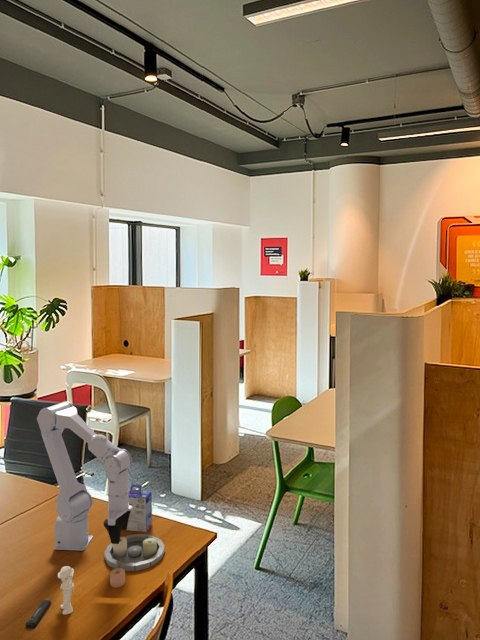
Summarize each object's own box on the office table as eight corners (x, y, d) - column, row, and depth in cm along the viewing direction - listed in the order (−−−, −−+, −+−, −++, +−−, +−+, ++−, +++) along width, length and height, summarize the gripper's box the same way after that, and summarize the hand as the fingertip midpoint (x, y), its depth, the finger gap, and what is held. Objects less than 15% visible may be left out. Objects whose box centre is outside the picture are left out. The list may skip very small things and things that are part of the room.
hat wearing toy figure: (78, 617, 130) (76, 571, 129) (61, 622, 128) (59, 576, 127) (72, 596, 138) (70, 553, 137) (56, 600, 136) (54, 557, 135)
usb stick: (42, 603, 136) (42, 598, 136) (52, 604, 136) (51, 598, 136) (24, 629, 127) (24, 623, 126) (35, 630, 126) (34, 624, 126)
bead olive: (141, 558, 154) (141, 545, 154) (144, 550, 158) (144, 537, 158) (155, 558, 154) (154, 545, 153) (158, 551, 158) (157, 538, 157)
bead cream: (111, 556, 155) (111, 543, 154) (115, 549, 159) (114, 536, 158) (125, 557, 155) (124, 544, 154) (128, 549, 159) (128, 536, 158)
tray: (97, 573, 148) (97, 564, 148) (115, 540, 165) (115, 533, 165) (157, 575, 147) (156, 567, 147) (169, 542, 164) (169, 535, 164)
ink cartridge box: (153, 526, 174) (152, 484, 172) (147, 535, 169) (146, 491, 167) (125, 523, 176) (124, 482, 174) (118, 532, 171) (116, 489, 169)
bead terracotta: (108, 590, 141) (107, 576, 140) (112, 581, 145) (112, 567, 144) (122, 591, 140) (122, 577, 140) (127, 582, 144) (126, 568, 144)
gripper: (124, 504, 147) (125, 550, 149) (138, 482, 161) (138, 524, 163) (99, 503, 147) (101, 549, 149) (115, 481, 162) (116, 523, 163)
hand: (119, 536), depth 156 cm, fingers open, 7 cm apart
